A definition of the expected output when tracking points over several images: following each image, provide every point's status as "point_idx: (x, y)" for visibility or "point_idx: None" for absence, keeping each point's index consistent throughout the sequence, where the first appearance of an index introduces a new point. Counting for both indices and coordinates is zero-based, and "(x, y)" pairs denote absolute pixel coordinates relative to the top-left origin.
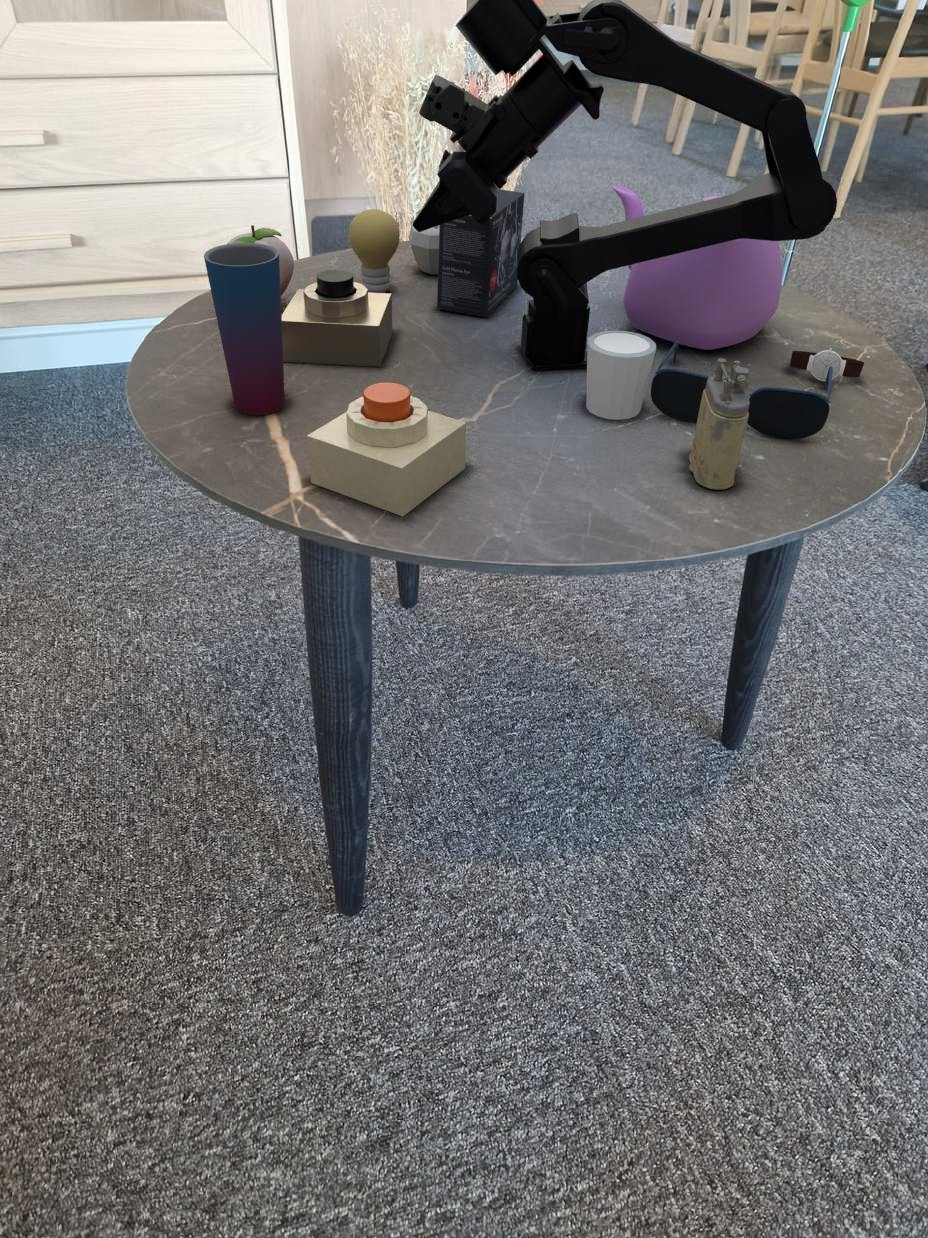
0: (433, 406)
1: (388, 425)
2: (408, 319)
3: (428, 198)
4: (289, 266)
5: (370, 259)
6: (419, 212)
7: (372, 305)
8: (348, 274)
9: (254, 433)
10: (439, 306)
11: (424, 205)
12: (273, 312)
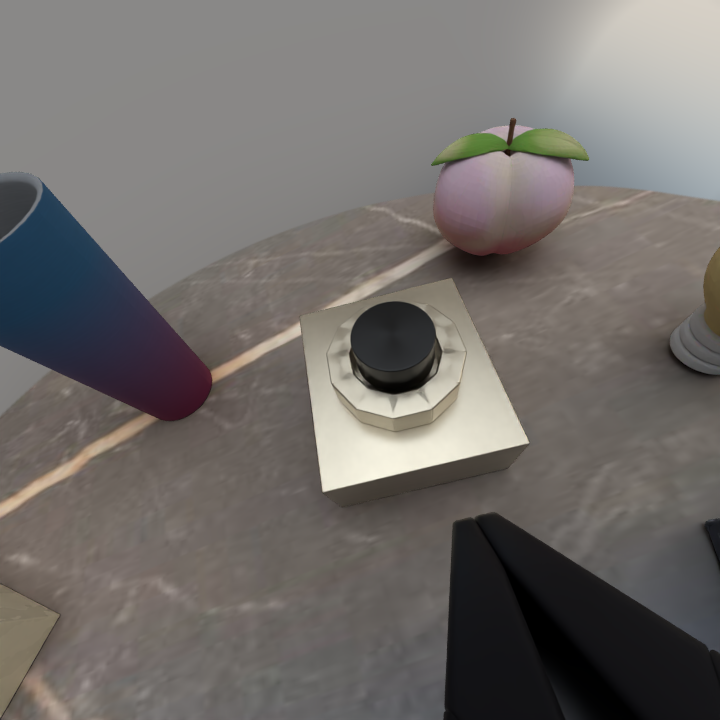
0: (188, 694)
1: None
2: (599, 473)
3: (606, 634)
4: (526, 225)
5: (712, 313)
6: (512, 552)
7: (433, 432)
8: (411, 356)
9: (101, 420)
10: (711, 527)
11: (510, 609)
12: (20, 354)
